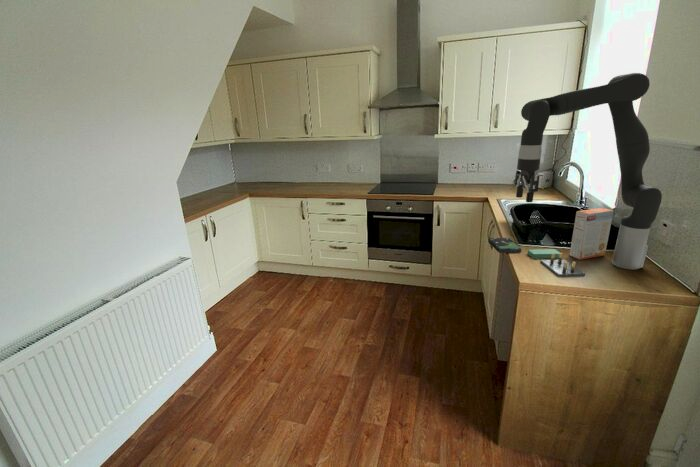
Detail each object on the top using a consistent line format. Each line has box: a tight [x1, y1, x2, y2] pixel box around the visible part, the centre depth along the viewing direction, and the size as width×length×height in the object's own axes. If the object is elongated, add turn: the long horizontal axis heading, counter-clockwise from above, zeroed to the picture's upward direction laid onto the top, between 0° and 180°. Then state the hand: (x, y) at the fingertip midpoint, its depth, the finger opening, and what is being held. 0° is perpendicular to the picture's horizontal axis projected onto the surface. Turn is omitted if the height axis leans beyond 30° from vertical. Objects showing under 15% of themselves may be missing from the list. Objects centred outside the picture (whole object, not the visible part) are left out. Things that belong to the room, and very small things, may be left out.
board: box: [527, 248, 561, 259], centre depth 152 cm, size 12×6×2 cm, turn 87°
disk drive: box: [487, 237, 522, 254], centre depth 164 cm, size 10×3×15 cm
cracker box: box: [569, 207, 615, 261], centre depth 147 cm, size 14×6×21 cm, turn 105°
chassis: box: [540, 252, 586, 278], centre depth 138 cm, size 10×14×5 cm
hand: (523, 199), depth 132 cm, fingers open, 8 cm apart
